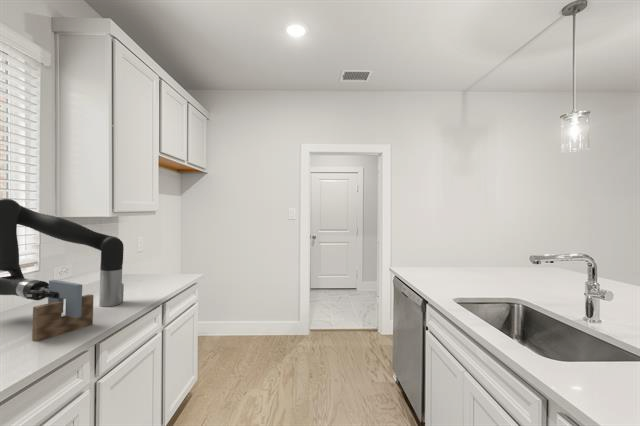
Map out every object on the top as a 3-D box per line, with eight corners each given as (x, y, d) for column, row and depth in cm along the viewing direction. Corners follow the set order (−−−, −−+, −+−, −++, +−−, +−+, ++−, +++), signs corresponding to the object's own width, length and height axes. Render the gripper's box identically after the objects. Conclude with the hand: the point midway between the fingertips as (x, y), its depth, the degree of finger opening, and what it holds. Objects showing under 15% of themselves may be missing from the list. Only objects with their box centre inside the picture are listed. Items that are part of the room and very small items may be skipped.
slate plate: (53, 310, 131) (54, 279, 131) (81, 316, 125) (82, 284, 125) (47, 311, 129) (48, 280, 129) (75, 317, 123) (76, 285, 123)
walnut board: (88, 323, 137) (89, 294, 137) (92, 324, 136) (93, 294, 136) (32, 340, 119) (33, 306, 118) (36, 341, 118) (37, 307, 118)
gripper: (12, 283, 128) (41, 288, 121) (52, 277, 141) (80, 281, 134) (11, 302, 128) (40, 309, 121) (51, 295, 141) (79, 300, 134)
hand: (61, 294), depth 128 cm, fingers closed on slate plate, 2 cm apart
